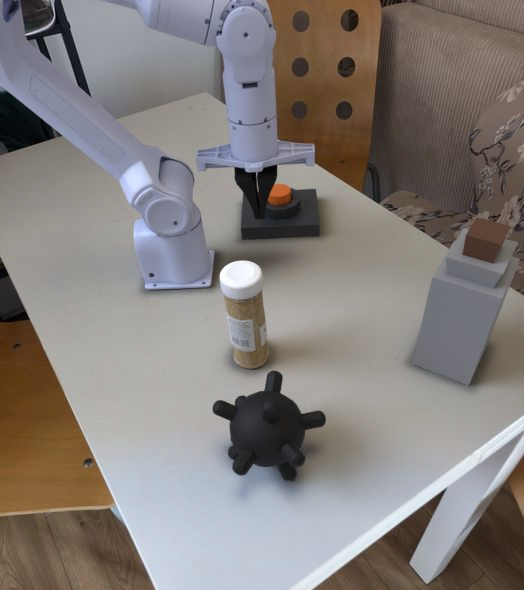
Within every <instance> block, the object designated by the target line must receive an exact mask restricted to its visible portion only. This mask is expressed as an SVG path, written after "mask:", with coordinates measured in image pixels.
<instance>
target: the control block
mask: <svg viewBox="0 0 524 590" xmlns="http://www.w3.org/2000/svg"><path fill="white" fill-rule="evenodd" d="M290 189H291V201H290V202H289V203H287V204H284V205H273V204H269V202H268V201H267V205H266V211H265V219H255V218H254V214H253V211H252V208H251V206H250V204H249V202H248V200H247V198H246V196H245V194H244V193H243V192H242V202H241V203H242V204H241V219H240V220H241V221H240V222H241V223H240V233H241V240H242V241H247V240H265V239H266V240H267V239H269V240H270V239H288V238H289V239H290V238H309V237H310V238H311V237H321V235H320V234H321V231H320V230H321V223H320V214H319V205H318V194H317V189H316V188H302V189H295V188H293V187H290ZM258 195H259V191H258Z"/></svg>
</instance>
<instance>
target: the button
mask: <svg viewBox="0 0 524 590" xmlns="http://www.w3.org/2000/svg"><path fill="white" fill-rule="evenodd" d="M290 188H291V187H290V186H289V185H287V184H285V183H275V184H274V186H273V188H272V190H271V193H270V195H269V198H268V202H269V204H273V205H284V204H287V203H289V202H290V201H291V189H290Z"/></svg>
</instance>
